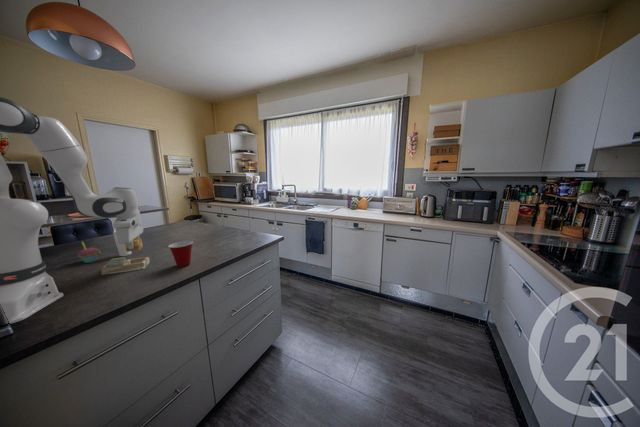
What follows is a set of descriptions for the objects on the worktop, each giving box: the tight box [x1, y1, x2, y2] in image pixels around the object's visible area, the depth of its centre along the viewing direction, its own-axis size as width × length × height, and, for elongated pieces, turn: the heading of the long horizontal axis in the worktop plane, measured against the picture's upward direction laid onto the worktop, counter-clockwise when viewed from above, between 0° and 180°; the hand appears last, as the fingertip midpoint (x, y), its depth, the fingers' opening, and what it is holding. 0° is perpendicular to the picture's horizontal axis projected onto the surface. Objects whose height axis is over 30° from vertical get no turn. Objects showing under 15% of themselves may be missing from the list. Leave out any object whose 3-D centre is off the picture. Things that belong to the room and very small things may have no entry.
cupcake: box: [76, 241, 101, 263], centre depth 113 cm, size 9×8×12 cm
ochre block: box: [125, 237, 144, 252], centre depth 106 cm, size 5×5×5 cm
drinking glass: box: [112, 229, 133, 257], centre depth 121 cm, size 7×7×15 cm
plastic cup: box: [168, 240, 194, 268], centre depth 109 cm, size 11×11×12 cm
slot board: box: [100, 256, 151, 276], centre depth 106 cm, size 10×16×5 cm, turn 114°
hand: (134, 246), depth 106 cm, fingers closed on ochre block, 5 cm apart
